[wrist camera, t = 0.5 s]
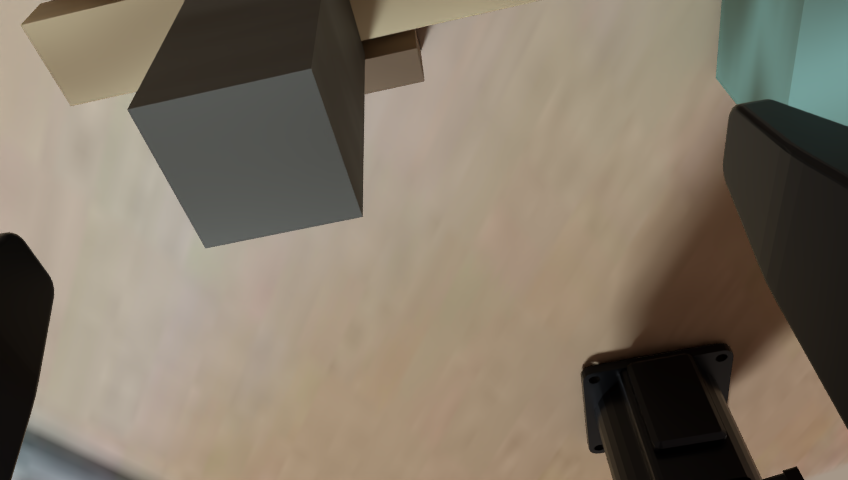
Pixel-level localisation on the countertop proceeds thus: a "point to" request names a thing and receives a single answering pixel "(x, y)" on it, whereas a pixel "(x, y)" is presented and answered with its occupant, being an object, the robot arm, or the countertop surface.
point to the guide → (392, 61)
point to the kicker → (337, 88)
